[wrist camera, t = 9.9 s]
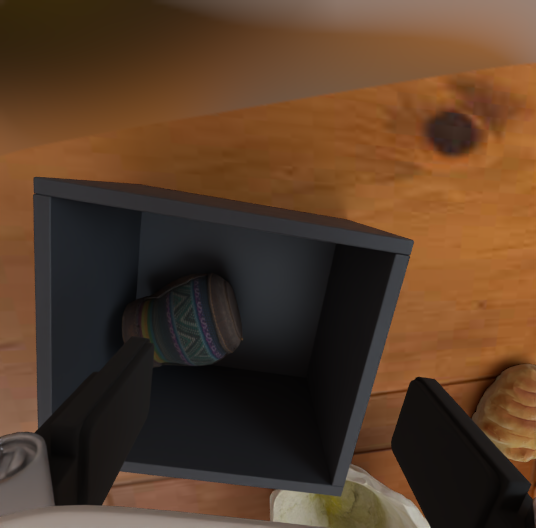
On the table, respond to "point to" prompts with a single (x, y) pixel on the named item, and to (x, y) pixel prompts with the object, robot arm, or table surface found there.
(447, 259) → the table surface
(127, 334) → the mate gourd
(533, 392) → the pastry
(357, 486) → the bowl
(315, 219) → the trash bin
